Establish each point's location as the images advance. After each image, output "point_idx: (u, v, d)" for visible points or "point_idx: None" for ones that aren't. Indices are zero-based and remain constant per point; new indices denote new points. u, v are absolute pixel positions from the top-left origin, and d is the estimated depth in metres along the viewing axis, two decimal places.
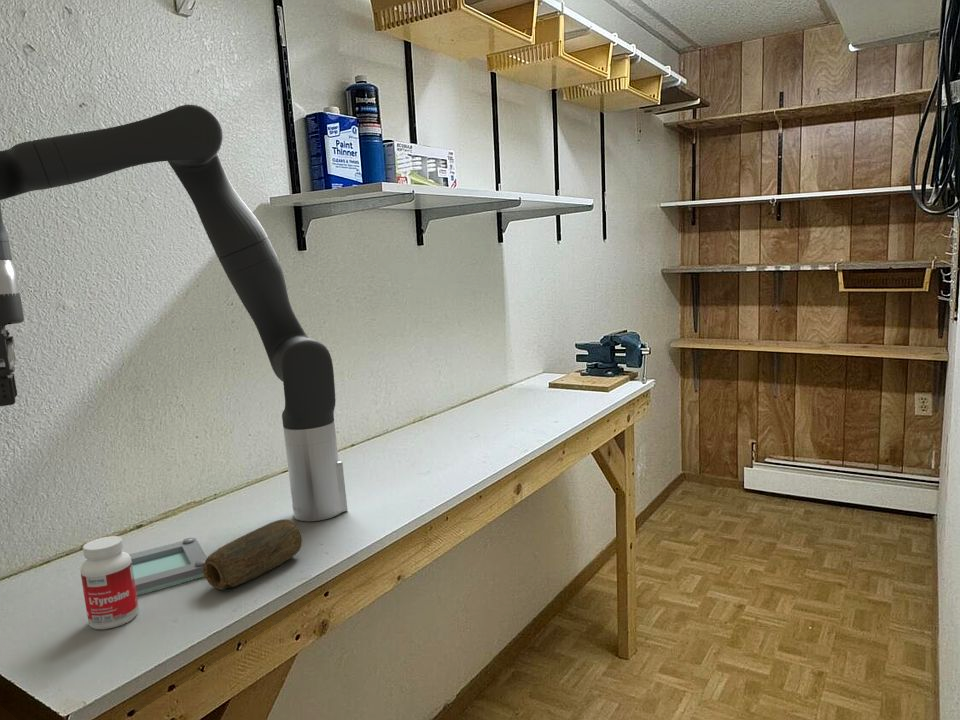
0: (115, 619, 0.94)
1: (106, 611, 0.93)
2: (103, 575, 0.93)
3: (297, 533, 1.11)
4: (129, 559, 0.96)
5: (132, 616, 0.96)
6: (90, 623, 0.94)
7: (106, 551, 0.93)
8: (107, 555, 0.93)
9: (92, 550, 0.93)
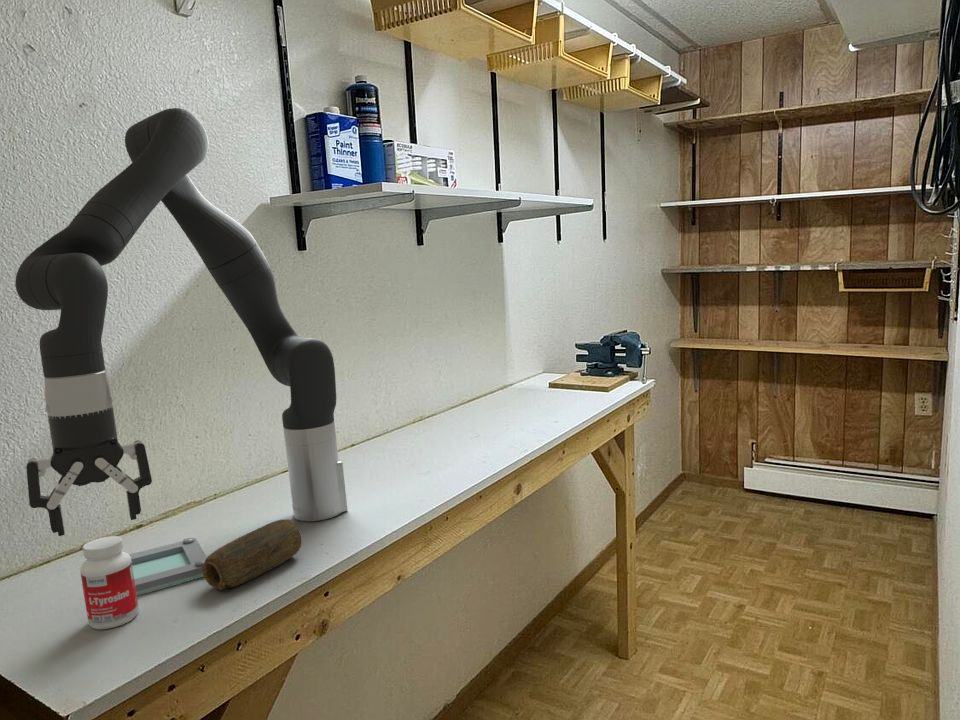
0: (115, 619, 0.94)
1: (106, 611, 0.93)
2: (103, 575, 0.93)
3: (297, 533, 1.11)
4: (129, 559, 0.96)
5: (132, 616, 0.96)
6: (90, 623, 0.94)
7: (106, 551, 0.93)
8: (107, 555, 0.93)
9: (92, 550, 0.93)
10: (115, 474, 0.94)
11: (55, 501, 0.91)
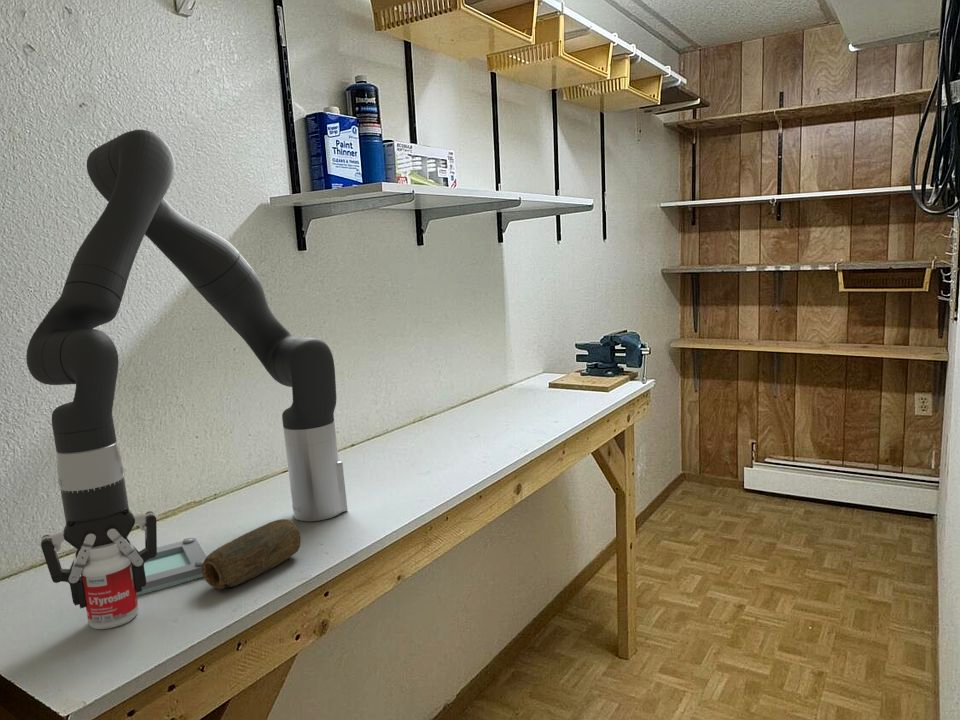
0: (115, 619, 0.94)
1: (106, 611, 0.93)
2: (103, 575, 0.93)
3: (296, 533, 1.11)
4: (129, 559, 0.96)
5: (132, 616, 0.96)
6: (90, 623, 0.94)
7: (106, 551, 0.93)
8: (107, 555, 0.93)
9: (92, 550, 0.93)
10: (124, 546, 0.95)
11: (77, 575, 0.93)
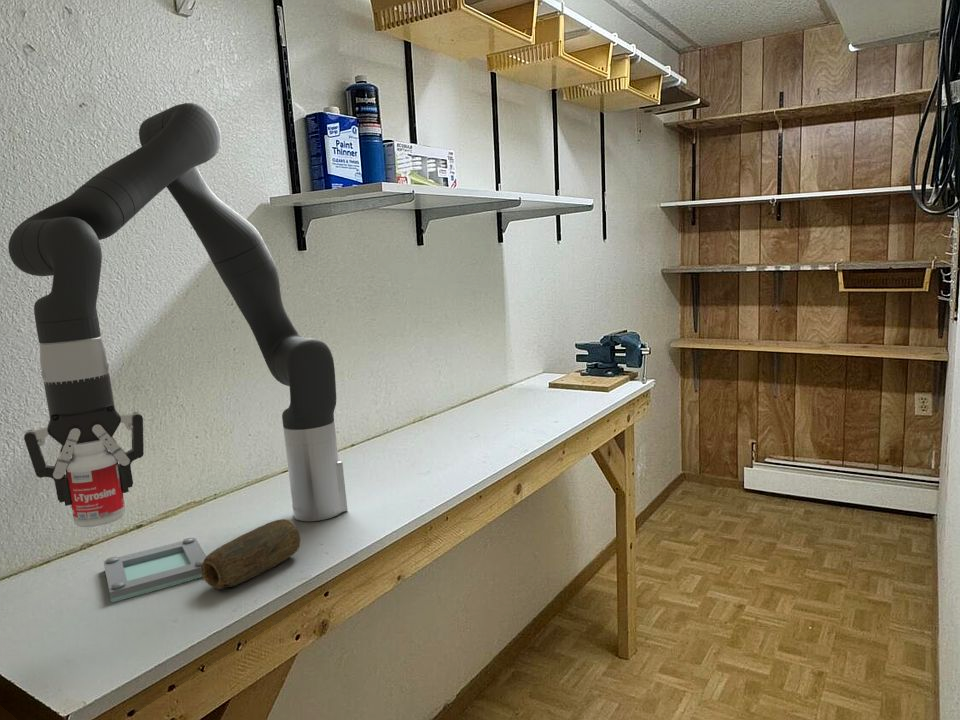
0: (101, 517, 0.92)
1: (91, 508, 0.91)
2: (89, 471, 0.91)
3: (295, 533, 1.11)
4: (115, 458, 0.94)
5: (119, 515, 0.94)
6: (75, 521, 0.92)
7: (91, 447, 0.91)
8: (92, 451, 0.91)
9: (77, 445, 0.91)
10: (110, 443, 0.93)
11: (61, 470, 0.91)
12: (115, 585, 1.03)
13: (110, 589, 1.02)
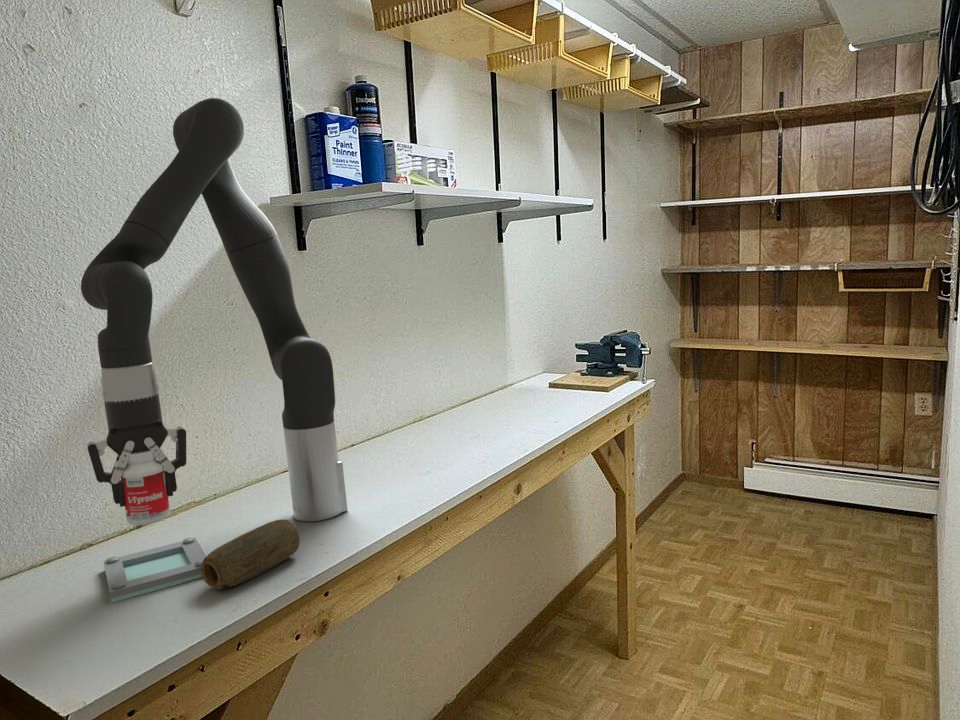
0: (150, 516, 1.07)
1: (142, 509, 1.07)
2: (141, 477, 1.06)
3: (295, 533, 1.11)
4: (162, 466, 1.09)
5: (165, 515, 1.09)
6: (128, 520, 1.07)
7: (143, 456, 1.07)
8: (144, 460, 1.07)
9: (131, 455, 1.06)
10: (158, 454, 1.08)
11: (118, 477, 1.06)
12: (115, 585, 1.03)
13: (110, 589, 1.02)
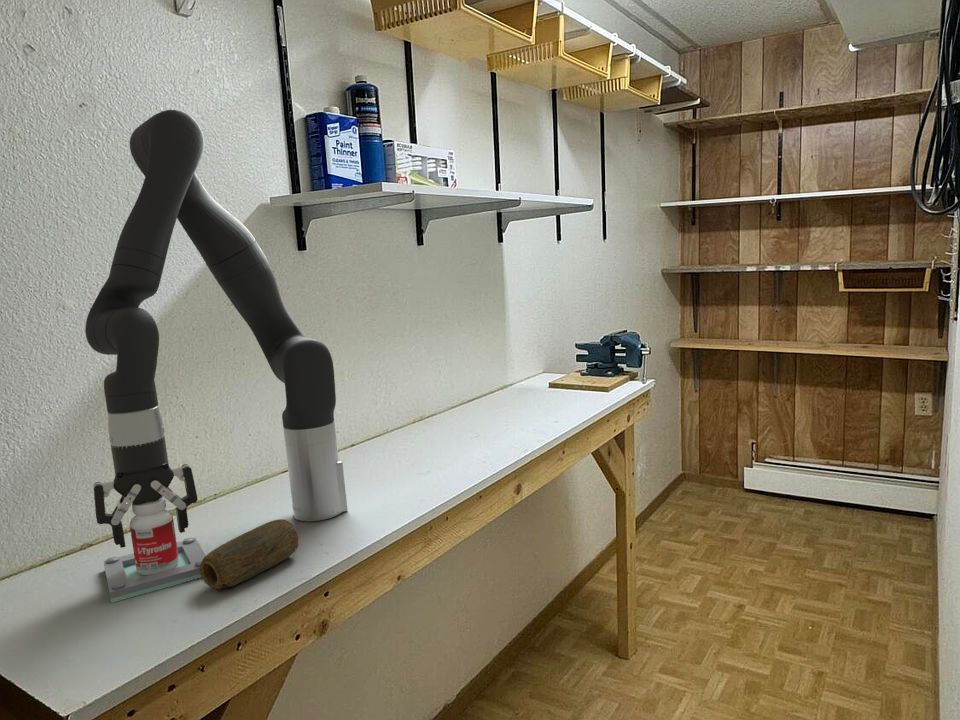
0: (160, 567, 1.08)
1: (152, 559, 1.08)
2: (150, 528, 1.07)
3: (294, 533, 1.11)
4: (171, 515, 1.11)
5: (174, 565, 1.10)
6: (138, 570, 1.09)
7: (152, 508, 1.08)
8: (153, 511, 1.08)
9: (140, 506, 1.07)
10: (167, 494, 1.09)
11: (118, 518, 1.06)
12: (115, 585, 1.03)
13: (110, 589, 1.02)
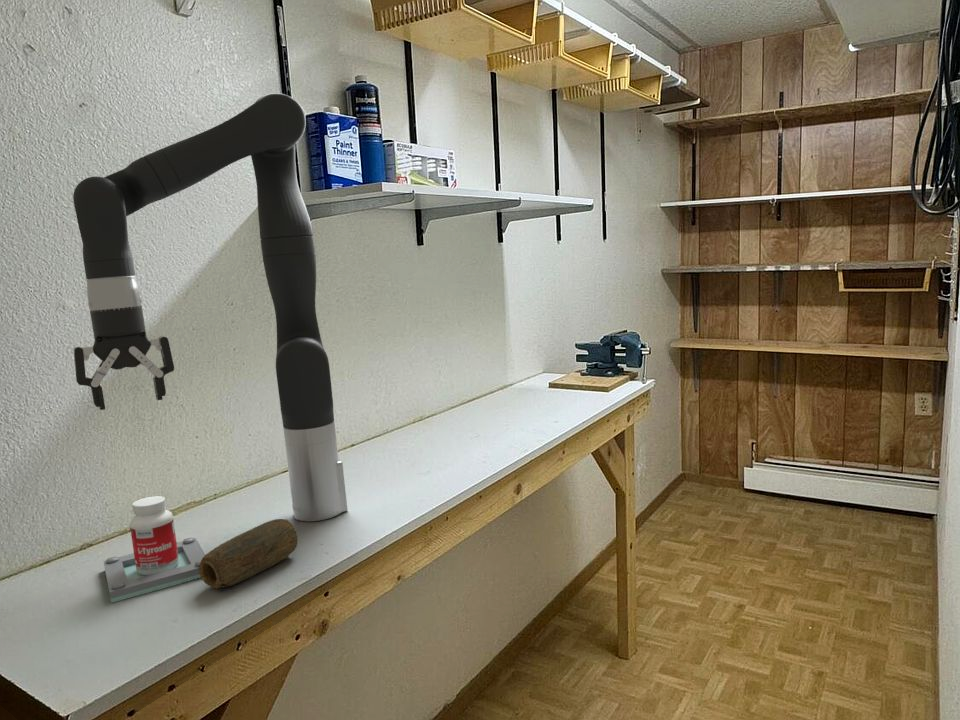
0: (160, 567, 1.08)
1: (152, 559, 1.08)
2: (150, 528, 1.07)
3: (293, 532, 1.11)
4: (171, 516, 1.11)
5: (174, 565, 1.10)
6: (138, 570, 1.09)
7: (153, 508, 1.08)
8: (153, 511, 1.08)
9: (141, 506, 1.07)
10: (145, 361, 1.15)
11: (97, 380, 1.12)
12: (115, 585, 1.03)
13: (110, 589, 1.02)
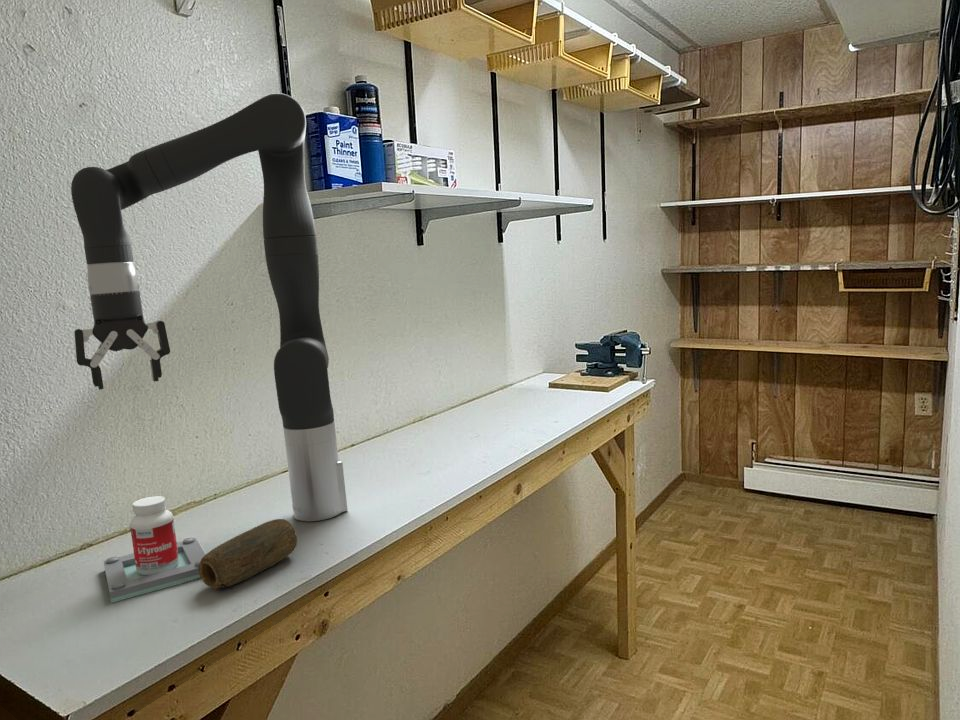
0: (160, 567, 1.08)
1: (152, 559, 1.08)
2: (150, 528, 1.07)
3: (292, 532, 1.11)
4: (171, 516, 1.11)
5: (174, 565, 1.10)
6: (138, 570, 1.09)
7: (153, 508, 1.08)
8: (153, 511, 1.08)
9: (141, 506, 1.07)
10: (142, 343, 1.20)
11: (96, 361, 1.17)
12: (115, 585, 1.03)
13: (110, 589, 1.02)
